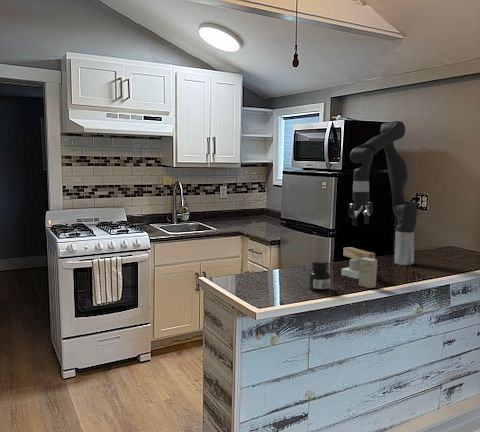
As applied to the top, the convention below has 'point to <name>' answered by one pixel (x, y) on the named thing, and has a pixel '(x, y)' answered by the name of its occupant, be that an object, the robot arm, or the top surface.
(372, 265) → the skincare box
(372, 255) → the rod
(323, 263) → the ink bottle
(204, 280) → the top surface
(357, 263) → the fulcrum
